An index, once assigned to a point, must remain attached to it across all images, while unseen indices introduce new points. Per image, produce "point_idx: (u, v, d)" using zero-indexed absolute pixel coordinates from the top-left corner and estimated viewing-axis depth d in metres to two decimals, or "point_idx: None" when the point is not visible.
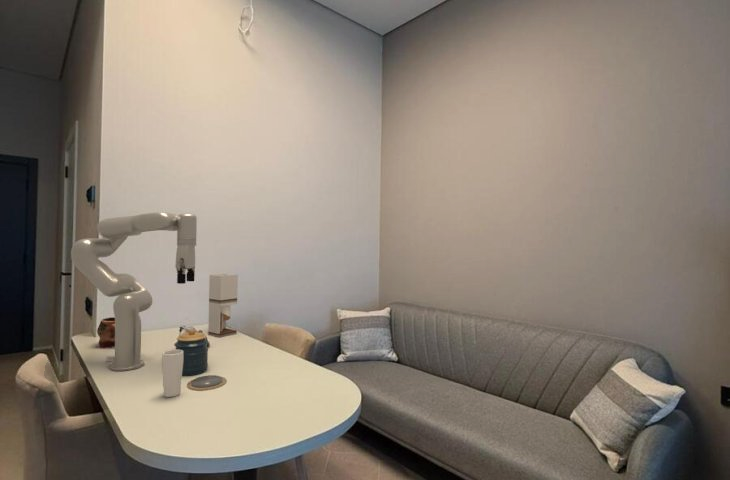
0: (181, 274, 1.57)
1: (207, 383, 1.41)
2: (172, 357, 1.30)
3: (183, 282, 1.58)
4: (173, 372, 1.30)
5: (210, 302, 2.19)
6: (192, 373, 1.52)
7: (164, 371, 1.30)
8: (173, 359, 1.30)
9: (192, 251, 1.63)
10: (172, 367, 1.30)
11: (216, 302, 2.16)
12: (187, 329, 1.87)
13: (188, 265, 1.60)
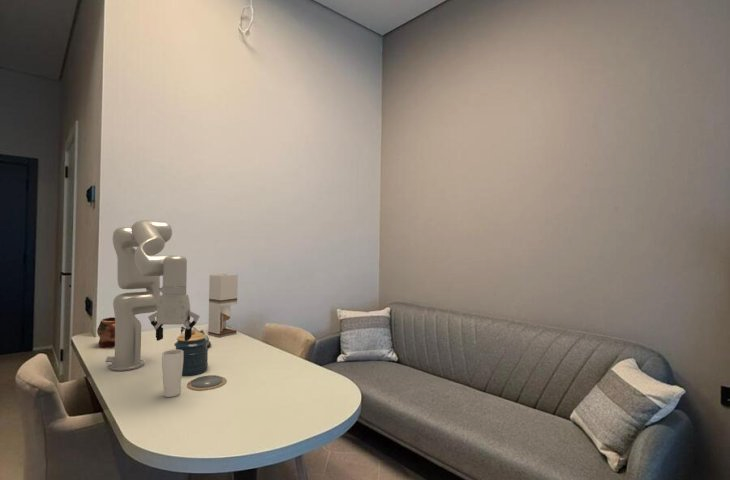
0: (191, 328, 1.34)
1: (207, 383, 1.41)
2: (172, 357, 1.30)
3: (189, 337, 1.34)
4: (173, 372, 1.30)
5: (210, 302, 2.19)
6: (192, 373, 1.52)
7: (164, 371, 1.30)
8: (173, 359, 1.30)
9: None
10: (172, 367, 1.30)
11: (216, 302, 2.16)
12: None
13: None
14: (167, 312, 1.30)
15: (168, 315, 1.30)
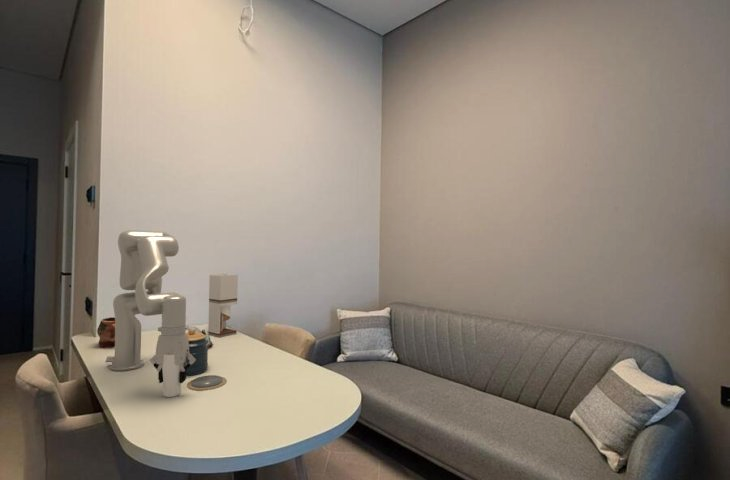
0: (186, 370, 1.34)
1: (207, 383, 1.41)
2: (171, 357, 1.30)
3: (184, 379, 1.34)
4: (173, 372, 1.30)
5: (210, 302, 2.19)
6: (192, 373, 1.52)
7: (164, 371, 1.30)
8: (173, 359, 1.30)
9: None
10: (172, 367, 1.30)
11: (216, 302, 2.16)
12: None
13: None
14: (166, 353, 1.30)
15: None
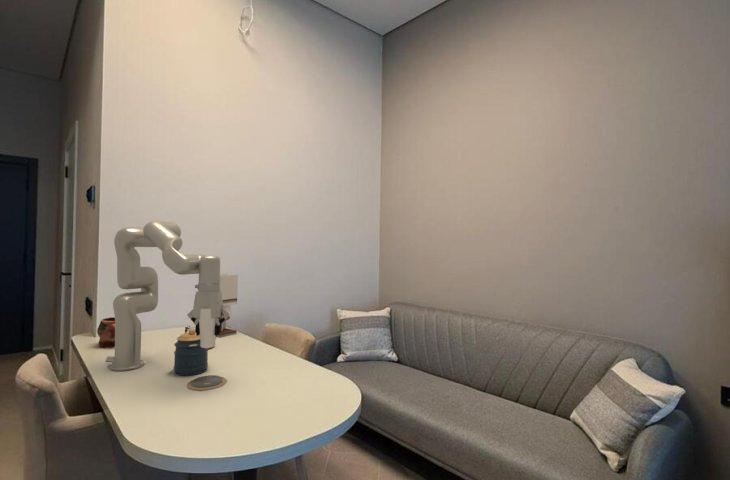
0: (220, 324, 1.45)
1: (207, 383, 1.41)
2: (208, 311, 1.41)
3: (219, 333, 1.46)
4: (209, 325, 1.42)
5: None
6: (192, 373, 1.52)
7: (201, 324, 1.42)
8: (210, 313, 1.42)
9: None
10: (208, 320, 1.42)
11: None
12: None
13: None
14: (203, 307, 1.42)
15: None
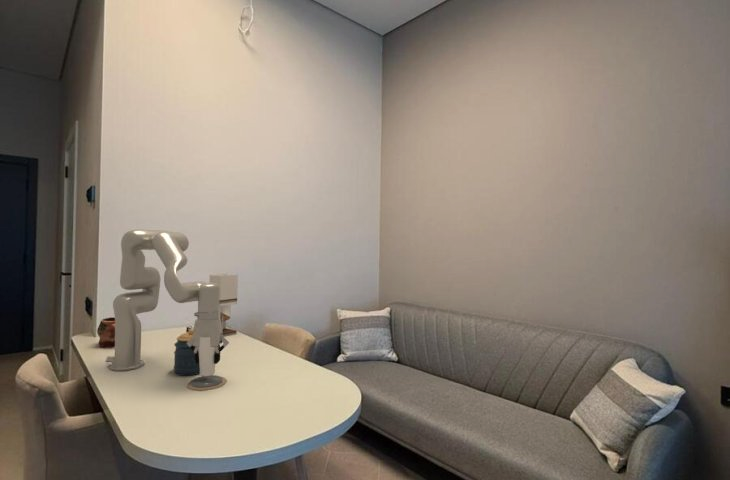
0: None
1: (207, 383, 1.41)
2: (207, 340, 1.41)
3: None
4: (209, 353, 1.42)
5: None
6: (192, 373, 1.52)
7: (200, 352, 1.41)
8: (209, 341, 1.42)
9: None
10: (208, 349, 1.41)
11: None
12: None
13: None
14: (202, 335, 1.42)
15: None
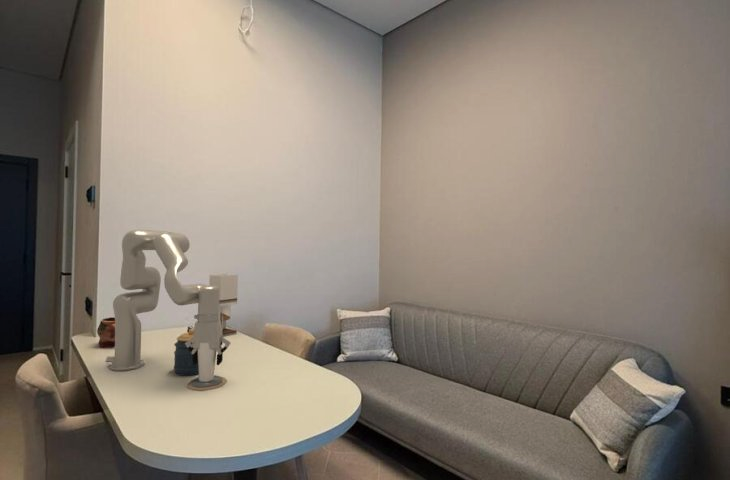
0: (222, 353, 1.45)
1: (207, 383, 1.41)
2: (207, 345, 1.41)
3: (220, 362, 1.45)
4: (208, 359, 1.42)
5: None
6: (192, 373, 1.52)
7: (200, 358, 1.42)
8: (208, 347, 1.42)
9: None
10: (207, 354, 1.41)
11: None
12: None
13: None
14: (202, 338, 1.42)
15: (203, 341, 1.42)
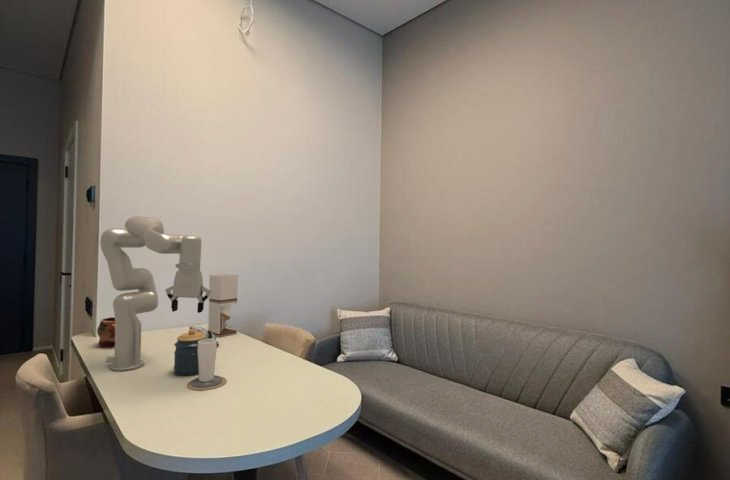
0: (203, 302, 1.48)
1: (207, 383, 1.41)
2: (207, 345, 1.41)
3: (201, 310, 1.49)
4: (208, 359, 1.42)
5: (210, 302, 2.19)
6: (192, 373, 1.52)
7: (200, 358, 1.42)
8: (208, 347, 1.42)
9: None
10: (207, 354, 1.41)
11: (216, 302, 2.16)
12: (197, 329, 1.87)
13: None
14: (182, 286, 1.44)
15: (183, 289, 1.44)
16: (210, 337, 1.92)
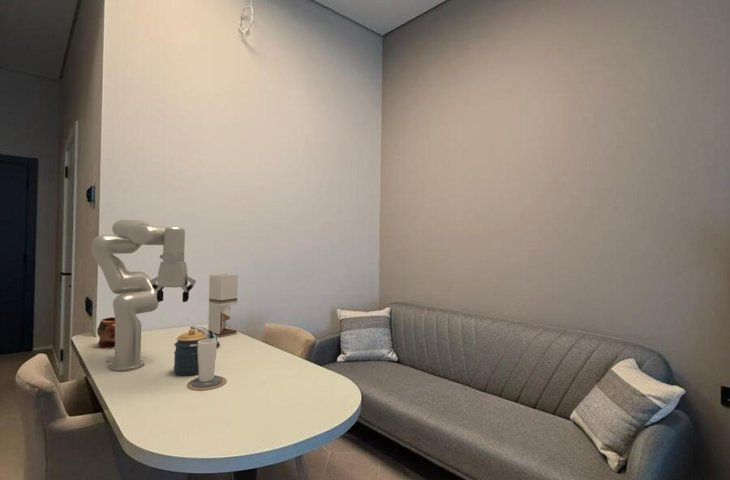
0: (188, 291, 1.50)
1: (207, 383, 1.41)
2: (206, 345, 1.41)
3: (187, 300, 1.50)
4: (208, 359, 1.42)
5: (210, 302, 2.19)
6: (192, 373, 1.52)
7: (200, 358, 1.42)
8: (208, 347, 1.42)
9: None
10: (207, 354, 1.41)
11: (216, 302, 2.16)
12: (199, 329, 1.88)
13: None
14: (167, 276, 1.46)
15: (168, 279, 1.46)
16: (211, 337, 1.92)
